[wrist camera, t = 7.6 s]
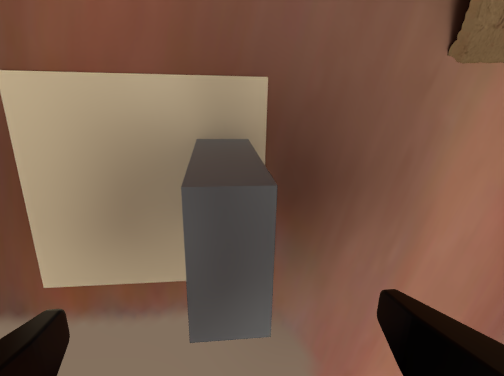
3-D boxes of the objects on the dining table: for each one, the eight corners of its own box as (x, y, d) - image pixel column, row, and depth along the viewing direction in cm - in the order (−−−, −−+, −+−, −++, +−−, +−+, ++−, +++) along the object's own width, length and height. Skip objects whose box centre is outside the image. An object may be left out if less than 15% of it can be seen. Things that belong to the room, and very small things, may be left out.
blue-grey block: (249, 139, 18) (280, 185, 10) (248, 231, 20) (273, 336, 12) (196, 139, 18) (180, 187, 10) (200, 232, 20) (189, 342, 11)
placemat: (266, 77, 18) (268, 76, 17) (260, 272, 22) (261, 277, 21) (1, 70, 16) (-5, 70, 16) (47, 283, 20) (43, 287, 20)
